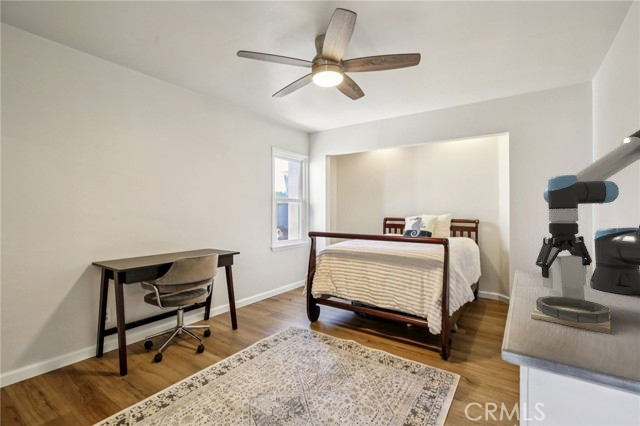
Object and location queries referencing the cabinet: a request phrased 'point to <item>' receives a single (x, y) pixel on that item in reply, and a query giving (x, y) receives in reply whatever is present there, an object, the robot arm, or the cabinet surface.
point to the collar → (573, 312)
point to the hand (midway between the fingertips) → (564, 286)
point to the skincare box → (567, 277)
